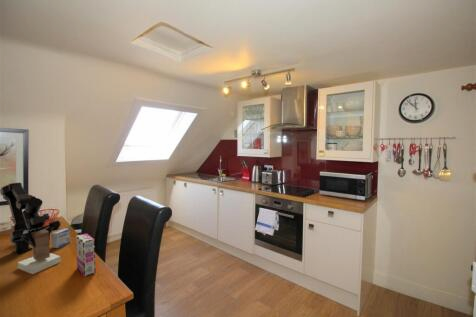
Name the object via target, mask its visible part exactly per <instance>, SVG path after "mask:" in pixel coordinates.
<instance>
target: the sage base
mask: <svg viewBox="0 0 476 317" xmlns="http://www.w3.org/2000/svg"><path fill="white" fill-rule="evenodd" d="M61 261H62V260H61V255H58V254H55V253H52V252H51V253H50V257H49V258H46V259H43V260H40V261H36V260H35V259H34V258H33V256H31V257H29V258H25V259H23V260H20V261H18V262H17V269H19V270H21V271H24V272H26V273H29V274H31V275H34V274H37V273H39V272H41V271H43V270H45V269H48V268H51V267H53V266H54V265H56V264H60V263H61Z"/></svg>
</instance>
